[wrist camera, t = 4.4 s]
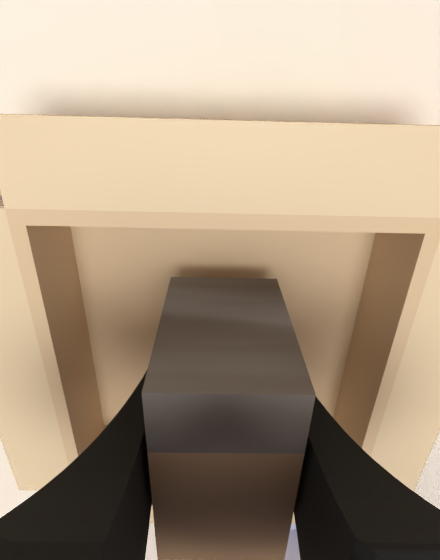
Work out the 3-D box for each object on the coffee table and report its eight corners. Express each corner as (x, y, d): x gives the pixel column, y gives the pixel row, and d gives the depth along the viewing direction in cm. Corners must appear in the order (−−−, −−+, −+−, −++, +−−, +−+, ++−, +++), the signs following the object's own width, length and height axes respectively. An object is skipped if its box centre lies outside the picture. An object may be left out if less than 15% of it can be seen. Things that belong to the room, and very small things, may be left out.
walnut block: (262, 413, 17) (284, 560, 11) (176, 412, 17) (157, 560, 11) (276, 278, 14) (315, 395, 8) (171, 276, 14) (141, 393, 8)
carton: (371, 458, 21) (399, 524, 18) (59, 456, 21) (30, 522, 17) (480, 121, 13) (567, 129, 10) (-32, 107, 13) (-117, 111, 9)
